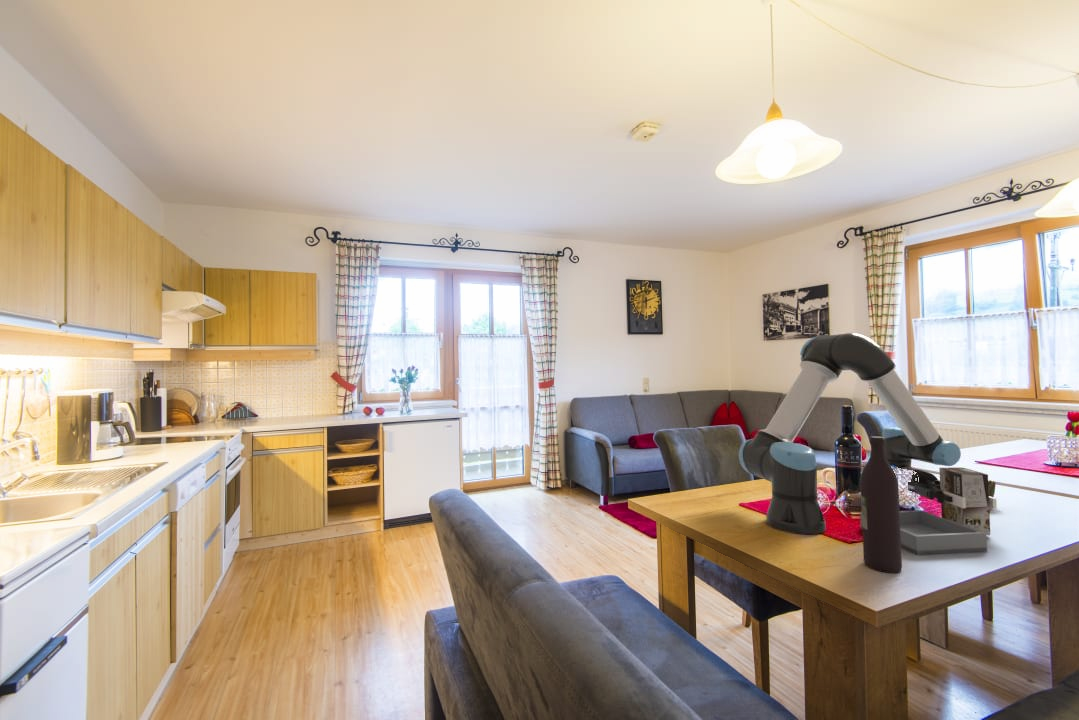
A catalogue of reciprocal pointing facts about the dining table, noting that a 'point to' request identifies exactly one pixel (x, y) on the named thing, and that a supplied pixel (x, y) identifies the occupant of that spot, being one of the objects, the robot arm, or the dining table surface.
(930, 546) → the tray
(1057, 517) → the dining table surface
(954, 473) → the coffee box
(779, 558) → the dining table surface
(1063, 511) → the dining table surface
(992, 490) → the cup
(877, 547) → the wine bottle
